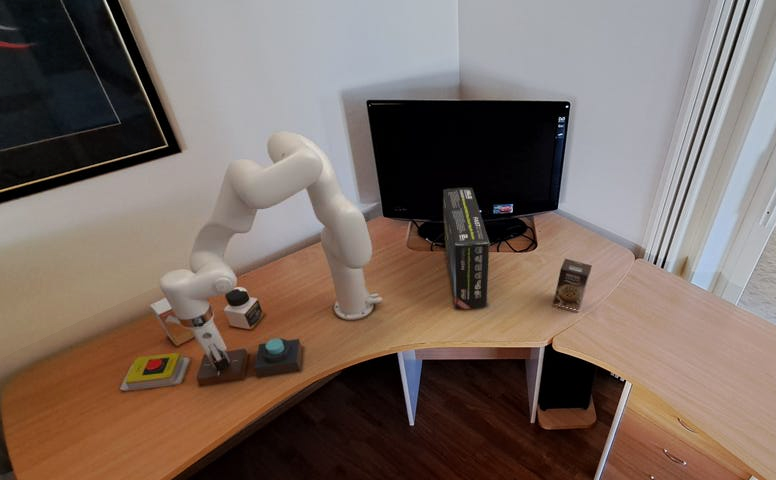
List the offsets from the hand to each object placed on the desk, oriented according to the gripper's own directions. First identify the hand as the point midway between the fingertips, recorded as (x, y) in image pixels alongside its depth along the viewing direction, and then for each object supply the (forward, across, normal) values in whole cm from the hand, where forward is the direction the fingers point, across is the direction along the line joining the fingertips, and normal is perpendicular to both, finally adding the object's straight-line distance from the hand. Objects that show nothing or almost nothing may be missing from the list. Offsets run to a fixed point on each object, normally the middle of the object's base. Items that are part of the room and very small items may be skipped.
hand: (220, 361), depth 123 cm
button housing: (+4, -7, -13) cm, 15 cm away
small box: (+4, +22, +5) cm, 22 cm away
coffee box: (+4, -41, -99) cm, 107 cm away
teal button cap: (-2, -7, -13) cm, 15 cm away
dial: (+1, 0, 0) cm, 1 cm away
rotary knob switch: (+4, 0, 0) cm, 4 cm away
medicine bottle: (+4, +16, -12) cm, 21 cm away
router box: (+4, -8, -80) cm, 80 cm away
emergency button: (+4, +10, +15) cm, 19 cm away
